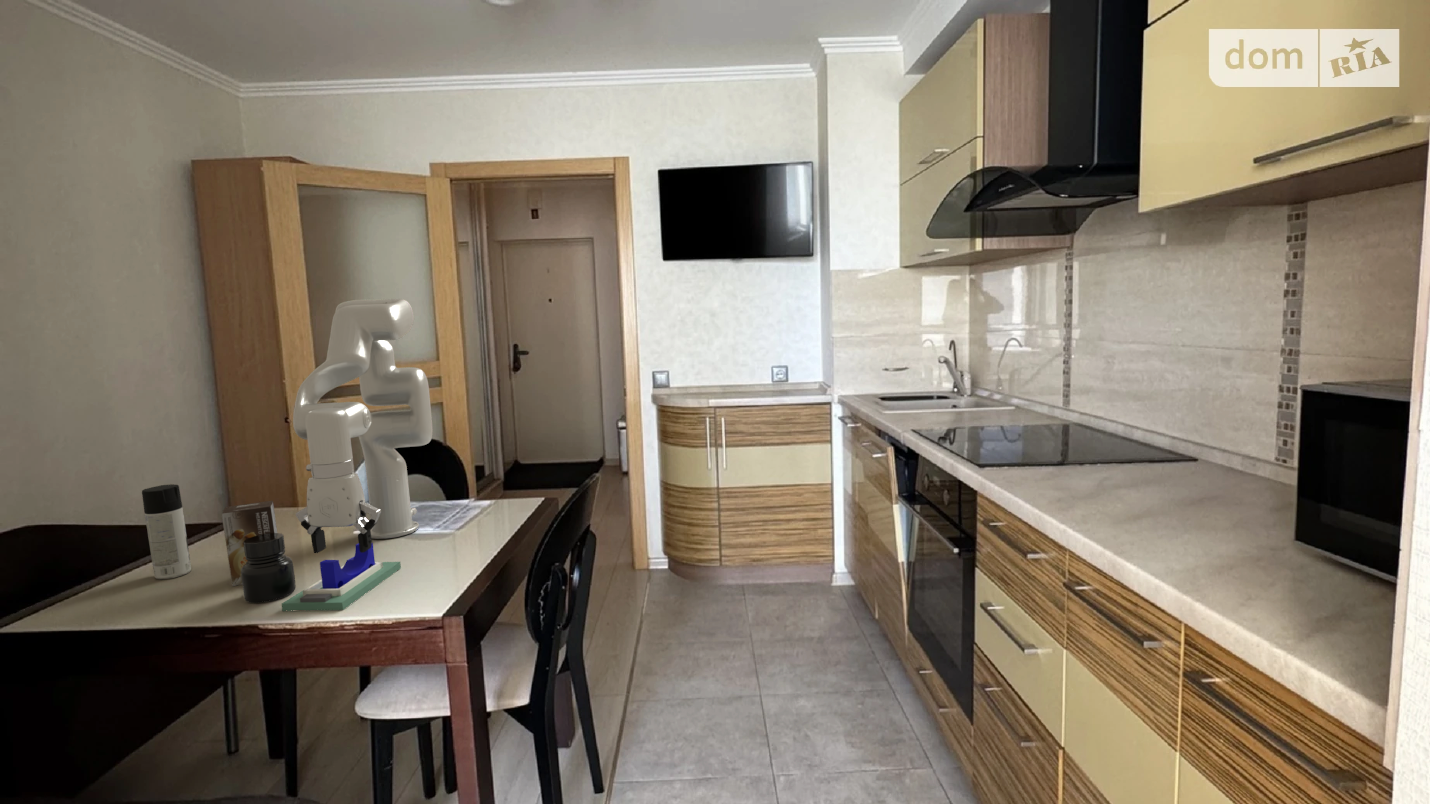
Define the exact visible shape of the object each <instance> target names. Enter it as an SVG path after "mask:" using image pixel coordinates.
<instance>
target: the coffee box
mask: <svg viewBox="0 0 1430 804" xmlns="http://www.w3.org/2000/svg"><path fill="white" fill-rule="evenodd" d="M221 519H222V526H223V532H224V539H225V546H226V552H227V561H228V567H229V571H230V578H231V579H230V580H231V586H232V587H235V586H236V587H237V586H241V585H242V577H241V569H242V567H243V566H244V565H245V564H246V562H247V561H248V560H246V556H245V552H244V544H243V542H244V540H246V539H248V538H251V537H254V536H257V535H262V534H269V533H278V529H277V521H276V513H275V506H274V501H273V500H269V501H261V502H260V501H259V502H254V503H253V502H252V503H246V504H245V503H244V504H239V505H230V506H225V507H224V508H223V510H222V513H221Z"/></svg>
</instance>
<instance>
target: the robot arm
mask: <svg viewBox="0 0 1430 804" xmlns="http://www.w3.org/2000/svg"><path fill="white" fill-rule="evenodd" d="M414 315H415V314H414V310H413V308H412V305H411V304H410V302H409V301H408V300H406V299H404V298H383V299H382V298H380V299H379V298H378V299H374V298H373V299H370V298H369V299H354V300H352V299H351V300H348V301H343V302H340V303H339V304H338V305H337V306H336V307H335V312H334V314H333V317H332V320H331V321H332V322H331V328H330V333H329V341H328V348H327V354H326V359H325V361H324V362H323V363H321V364H320V365H319V366H317V367H316V368H314V370H313V371H311V372H310V374H309V375H308V376H307V377H306V378H305V379H304V380H303V381H302V383H301V384H300V386H299V387H298V389H297V392H296V396H295V403H294V408H293V414H292V424H293V429H294V433H295V434H296V435H297V436H298V437H299V438H301V439H302V440H305V441H306V440H307V445H308V446H307V448H308V455H309V461H310V463H308V464H307V465H306V466H305V470H306V471H307V472H310V473H311V477H309V478H308V481H307V487H306V506H305V507H303V508H302V509H300V510H299V511H297V512H295V516H296V518H297V519H298V521H299V522H300V525H301V527H302V528H303V529H305V530H306V531H307V534H308V535H310V538H311V546H312V549H313V554H319V553H320V552H322V551H323V550H325V549H326V548H327V543H326V533H325V531H324V529H322V528H336V527H337V528H339V527H341V528H342V527H343V528H344V527H345V528H346V527H352V526H354V527H355V528H356V529H357V530H358V532H360V533H358V534H357V538H358V539H357V540H358V543H359V549H360V552H361V553H364V552H365V551H367V550H368V549H370V548H371V545H372V543H373V541H372V539H373V540H374V539H375V540H384V539H385V540H386V539H393V538H399V537H404V536H406V535H409V534H412V533H414V531H415V532H416V531H417V530H416V529H417V528H418V527H419V528H420V526H419V525H420V524H419V522H417V521H415V520H413V518H412V517H413V516H415V515H416V514H417V513H418V510H417V508H416V507H411V498H410V489H409V478H408V470H407V469H408V468H407V467H408V466H407V463H406V460H405V459H404V457H403V456H402V455H401V454H400V453H399V452H398V451H397V450H396V449H398V448H410V447H422V446H425V445H427V444H429V443H430V442H431V441H432V438H433V431H434V430H433V421H432V420H433V418H432V408H431V407H432V406H431V396H430V387H429V381H428V377H427V376H426V373H425V371H424V370H422V369H421V368H419V367H414V366H413V367H408V366H407V367H397V366H396V362H395V351H394V348H393V345H392V344H391V343H390V342H389V341H397V340H398V341H399V340H400V339H403V337H405V336H406V335H407V334H408V333H409V332H410V331H411V330H412V327H413V325H414V320H415V316H414ZM358 378H359V388H360V395H361V399H362V401H363V403H361V402H359V401H345V402H344V401H343V402H325V403H323V402H322V403H318V402H319V401H320V399H322V398H323V397H324V395H325V394H327V393H328V392H330V391H332V390H334V389H335V388H337V387H340V386H342V385H344V384H347V383H349V382H351V381H354V380H356V379H358ZM365 404H366V405H367V406H372V407H387V406H392V407H393V406H404V405H405V406H408V407H410V408H409V409H403V410H402V409H401V410H384V411H373V412H371V411H370V410H369V408H368V407H367V406H366V405H365ZM352 438H353V439H354V438H358V439H359V443H360V446H361V449H362V453H363V458H364V465H365V474H366V475H365V476H366V484H367V492H368V493H367V494H368V502H369V503H367V502H366V499H365V493H364V490H363V486H362V485H363V484H362V481H361V479H360V476H359V474H358V473H356V472H355V465H354V457H353V449H352V448H353V447H352V441H351V439H352ZM367 514H369V516H370V517H369V520H368V519H367ZM419 528H418V529H419Z"/></svg>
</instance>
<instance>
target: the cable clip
mask: <svg viewBox="0 0 1430 804" xmlns="http://www.w3.org/2000/svg"><path fill="white" fill-rule="evenodd" d="M354 550H355V552H354V556H352V557H350V558H349V559H346V562H345V563H344V564H343V565H344V567H343V568H342V569H341V567H342V566H341V565H340V560H339V559H324V560H322V561H320V562H319V567H320V568H319V569H320V576H321V579H322V586H323V589H339V588H340V587H342V586H343V585H345V584H346V583H348V582H349V581H351V580H352V579H354V578H355V577H357V576H358V575H360V574H361V573H363V572H364V571H366V570H367V569H369V568H370V567H372V566H373V565H375V562H376V560H375V551H374V543H373V542H372V545H371V548H370V549H368V550H367V551H365V552H364V553H361V552H360V549H359V542H358V543H356V544H355V549H354Z"/></svg>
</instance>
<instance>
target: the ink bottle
mask: <svg viewBox="0 0 1430 804" xmlns="http://www.w3.org/2000/svg"><path fill="white" fill-rule="evenodd" d="M243 544H244V552H245V556H246V560H248V561H247V562H246V564H245V565H244V566H243V567H242V569H241V577H242V584H241V585H242V590H243V591H242V593H243V598H244V600H245V602H247V603H250V604H253V603H254V604H259V603H260V604H261V603H266V602H267V603H268V602H272V601H277V600H280V599H281V600H282V599H283V598H285V597H289V595H291V594H292V593H294V592H295V590H296V577H295V576H296V575H295V570H294V563H293V559H292V558H291V557H290V556H288V555H286V554H285V552H286V544H285V537H284V534H283V533H282V532H277V533H269V534H262V535H257V536H254V537H251V538H248V539H246V540H244V542H243Z"/></svg>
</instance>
